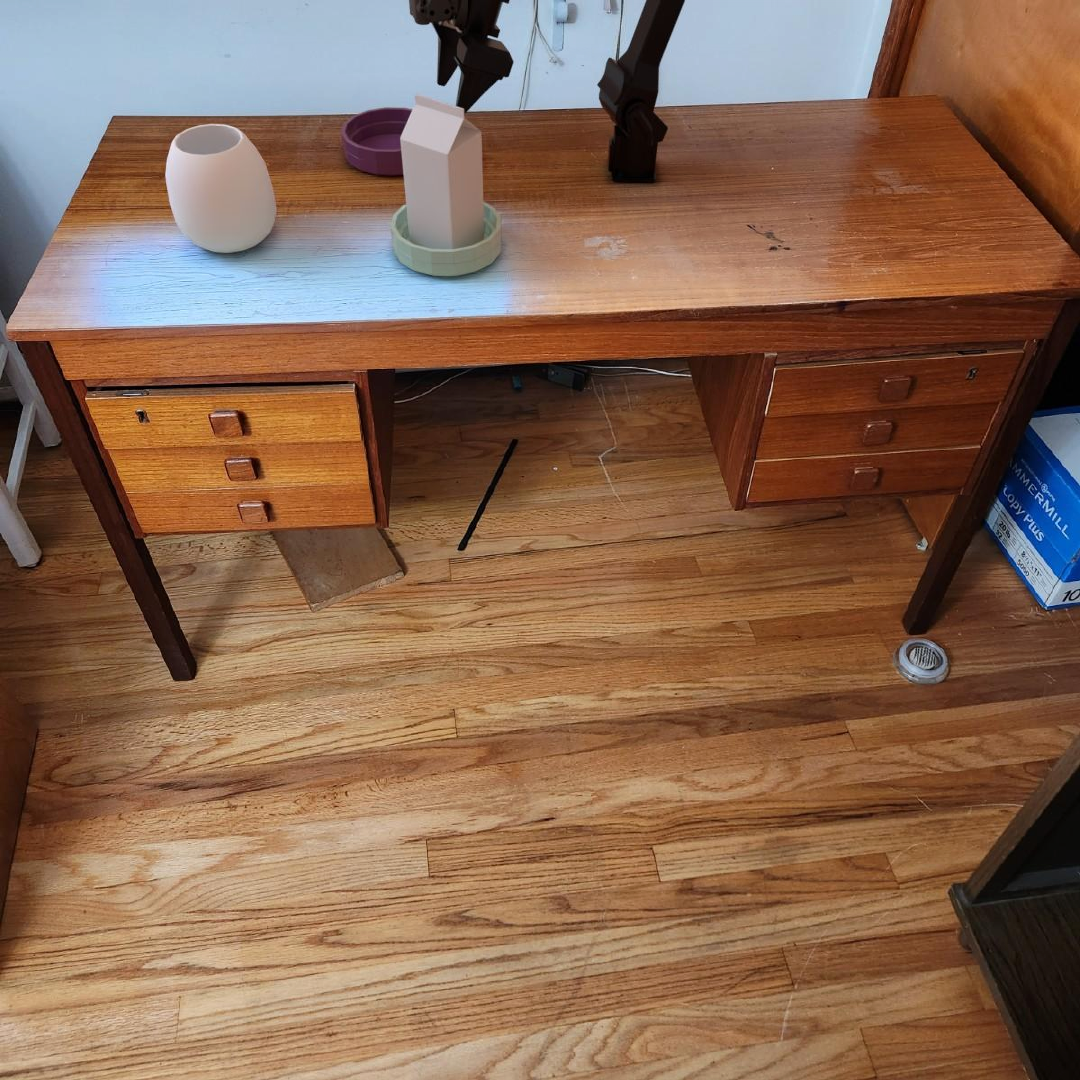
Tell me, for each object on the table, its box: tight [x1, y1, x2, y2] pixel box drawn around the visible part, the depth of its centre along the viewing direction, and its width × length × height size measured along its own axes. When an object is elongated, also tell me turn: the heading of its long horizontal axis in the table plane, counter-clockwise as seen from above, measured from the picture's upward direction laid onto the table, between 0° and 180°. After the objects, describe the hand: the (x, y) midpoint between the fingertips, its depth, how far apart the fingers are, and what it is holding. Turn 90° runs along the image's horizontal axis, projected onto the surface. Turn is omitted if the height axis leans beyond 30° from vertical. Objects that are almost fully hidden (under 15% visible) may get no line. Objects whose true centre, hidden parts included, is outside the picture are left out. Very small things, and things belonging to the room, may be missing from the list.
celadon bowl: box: [390, 200, 502, 277], centre depth 126 cm, size 14×14×4 cm
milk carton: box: [400, 93, 484, 249], centre depth 120 cm, size 7×7×19 cm
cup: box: [164, 123, 278, 254], centre depth 123 cm, size 13×13×14 cm
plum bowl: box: [340, 106, 413, 177], centre depth 143 cm, size 14×14×4 cm
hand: (449, 99), depth 126 cm, fingers open, 9 cm apart
